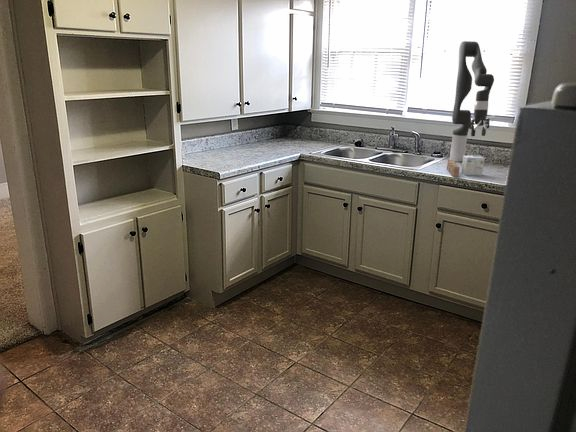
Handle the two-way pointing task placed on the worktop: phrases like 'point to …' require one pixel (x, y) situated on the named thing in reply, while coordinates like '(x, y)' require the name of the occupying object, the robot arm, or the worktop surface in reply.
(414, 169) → the worktop surface
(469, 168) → the light bulb box
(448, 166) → the orange brown stepped block
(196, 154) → the worktop surface
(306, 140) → the worktop surface
